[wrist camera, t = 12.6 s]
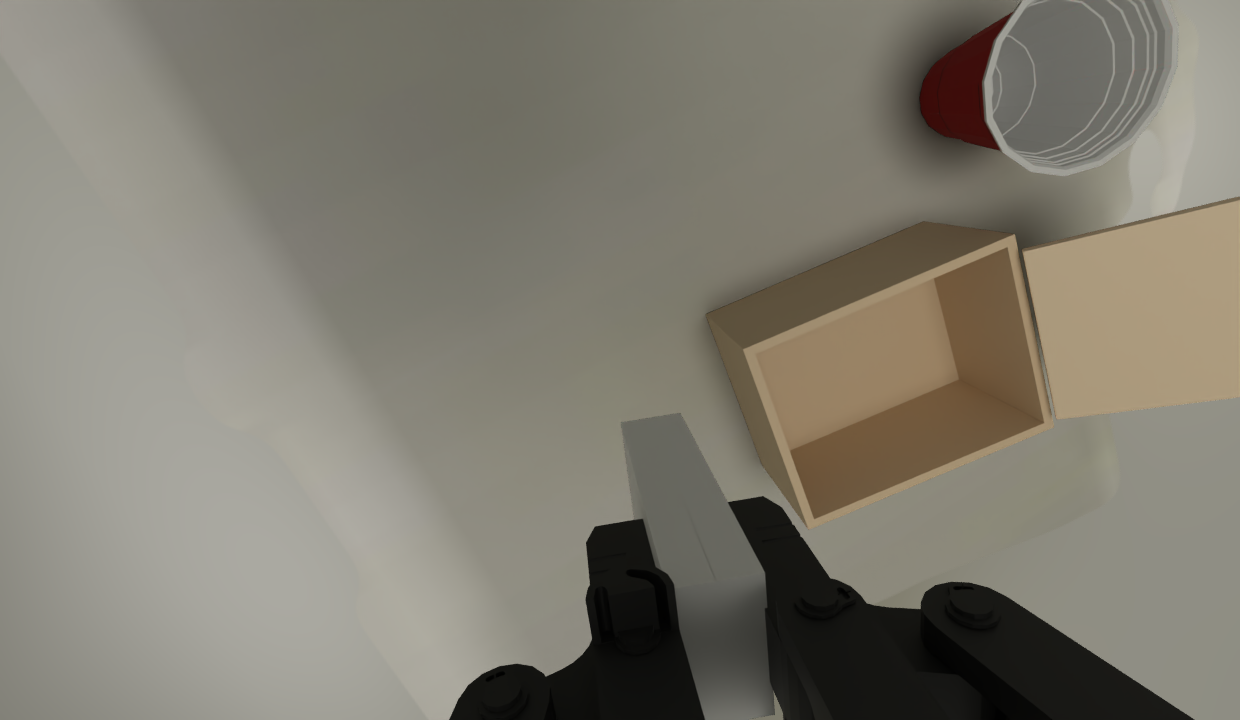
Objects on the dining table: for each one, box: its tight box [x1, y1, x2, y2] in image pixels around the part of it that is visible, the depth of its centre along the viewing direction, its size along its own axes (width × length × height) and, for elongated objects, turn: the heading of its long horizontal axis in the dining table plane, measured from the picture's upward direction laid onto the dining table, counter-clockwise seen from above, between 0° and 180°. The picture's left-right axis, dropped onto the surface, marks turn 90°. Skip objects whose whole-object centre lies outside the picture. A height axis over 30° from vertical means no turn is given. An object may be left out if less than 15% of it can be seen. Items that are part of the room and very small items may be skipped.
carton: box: [705, 222, 1054, 530], centre depth 46 cm, size 14×18×10 cm
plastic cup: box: [920, 0, 1179, 176], centre depth 40 cm, size 11×11×12 cm
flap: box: [1022, 197, 1240, 420], centre depth 38 cm, size 12×1×10 cm
